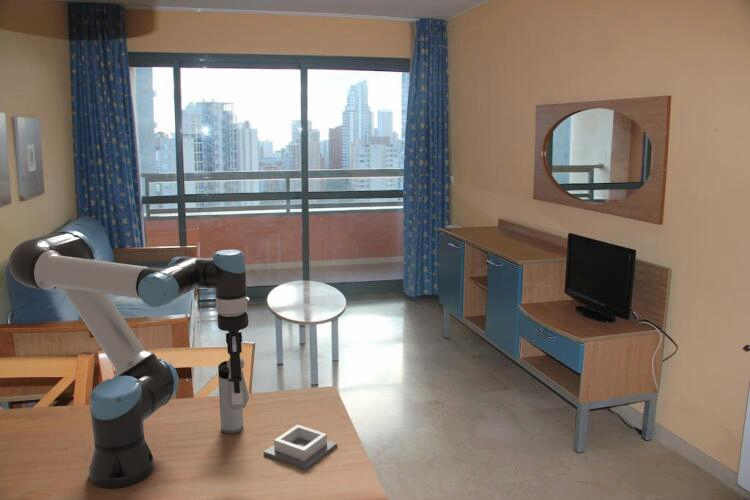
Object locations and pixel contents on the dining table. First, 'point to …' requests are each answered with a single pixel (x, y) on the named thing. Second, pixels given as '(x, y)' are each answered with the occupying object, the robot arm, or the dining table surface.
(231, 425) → the travel mug
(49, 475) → the dining table surface
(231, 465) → the dining table surface
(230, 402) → the grey bulb peg
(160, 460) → the dining table surface
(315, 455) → the socket
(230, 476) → the dining table surface
